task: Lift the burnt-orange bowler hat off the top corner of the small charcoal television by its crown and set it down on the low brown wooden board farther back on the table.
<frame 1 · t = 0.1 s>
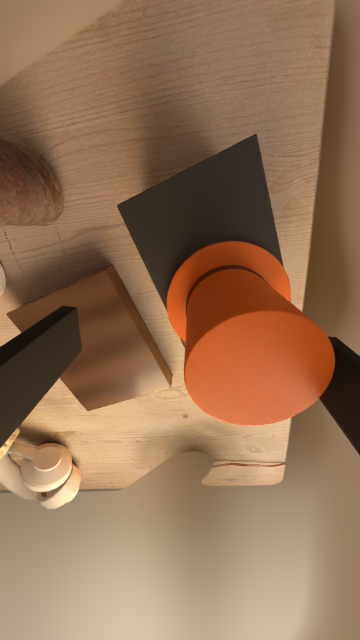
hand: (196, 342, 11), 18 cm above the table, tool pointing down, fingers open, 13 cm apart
headphones: (44, 456, 48), on the table
hat: (226, 303, 17), point 11 cm above the table, touching television
television: (205, 251, 26), on the table
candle: (37, 189, 24), on the table
brown wooden board: (102, 342, 33), on the table
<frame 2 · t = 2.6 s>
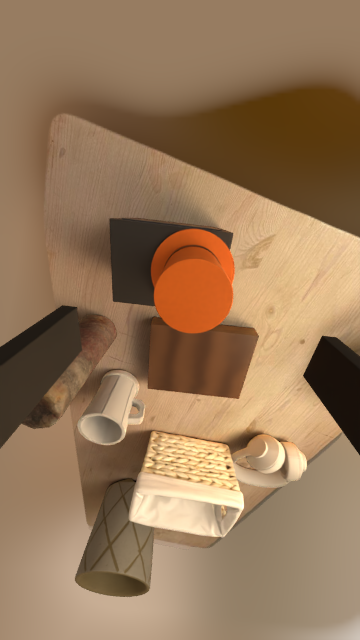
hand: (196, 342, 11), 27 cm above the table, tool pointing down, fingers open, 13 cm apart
headphones: (260, 451, 58), on the table
basket: (184, 449, 59), on the table
hat: (192, 273, 25), point 11 cm above the table, touching television
television: (174, 255, 35), on the table
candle: (99, 327, 42), on the table
brown wooden board: (198, 355, 44), on the table
cup: (124, 382, 49), on the table
planter: (132, 491, 70), on the table
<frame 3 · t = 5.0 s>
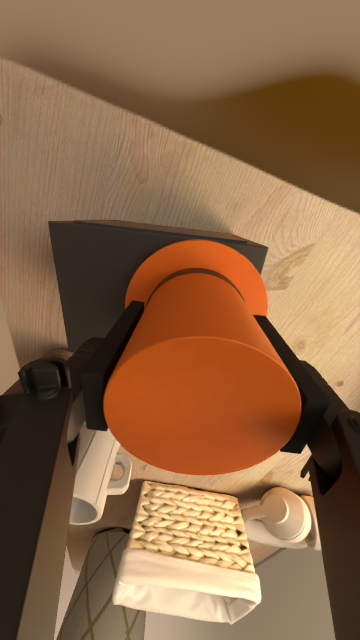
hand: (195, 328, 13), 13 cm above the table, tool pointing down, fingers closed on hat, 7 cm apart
headphones: (276, 503, 47), on the table
basket: (184, 499, 49), on the table
hat: (194, 312, 15), point 11 cm above the table, touching gripper, television
television: (168, 272, 25), on the table
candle: (71, 363, 32), on the table
cup: (107, 426, 38), on the table
planter: (122, 539, 60), on the table
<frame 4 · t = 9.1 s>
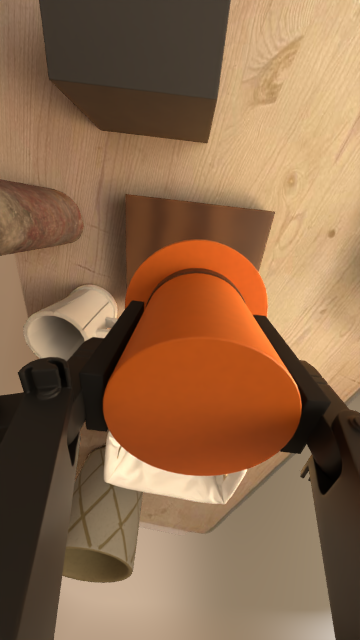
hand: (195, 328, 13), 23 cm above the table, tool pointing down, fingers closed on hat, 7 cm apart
basket: (178, 403, 48), on the table
hat: (194, 312, 15), point 21 cm above the table, touching gripper
television: (156, 83, 25), on the table
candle: (60, 217, 32), on the table
brown wooden board: (192, 260, 34), on the table
cup: (99, 305, 38), on the table
planter: (117, 461, 60), on the table
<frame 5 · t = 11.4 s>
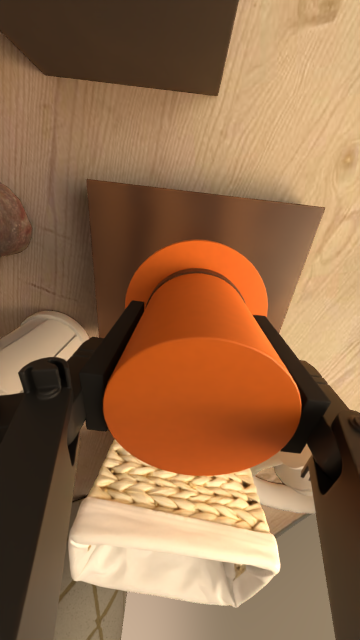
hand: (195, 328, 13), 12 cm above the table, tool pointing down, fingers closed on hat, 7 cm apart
headphones: (292, 456, 37), on the table
basket: (174, 453, 38), on the table
hat: (194, 312, 15), point 9 cm above the table, touching gripper
brown wooden board: (193, 278, 23), on the table
cup: (65, 336, 28), on the table
planter: (102, 511, 50), on the table
when the fingers open (5 cm above the table, at t = 13.3 s): hat stays where it is, resting on brown wooden board.
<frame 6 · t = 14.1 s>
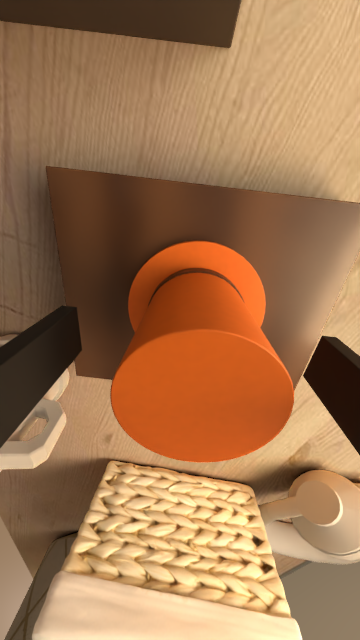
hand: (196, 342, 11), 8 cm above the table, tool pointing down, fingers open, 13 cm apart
headphones: (309, 496, 32), on the table
basket: (172, 490, 33), on the table
hat: (195, 310, 16), point 3 cm above the table, touching brown wooden board
brown wooden board: (194, 296, 18), on the table
cup: (39, 363, 23), on the table
planter: (92, 546, 44), on the table
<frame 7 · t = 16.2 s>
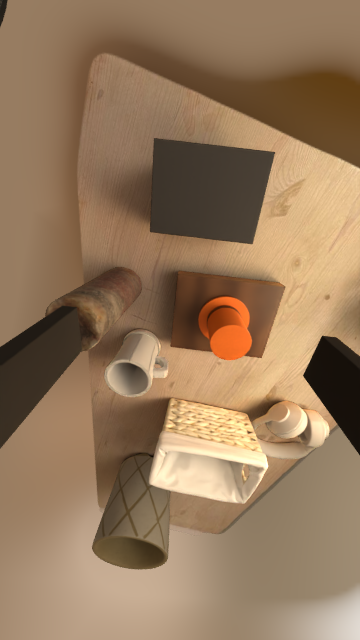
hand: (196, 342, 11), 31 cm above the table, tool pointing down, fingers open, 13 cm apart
headphones: (279, 421, 57), on the table
basket: (202, 419, 58), on the table
hat: (223, 319, 41), point 3 cm above the table, touching brown wooden board
television: (203, 203, 36), on the table
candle: (124, 283, 43), on the table
brown wooden board: (221, 313, 44), on the table
cup: (145, 343, 49), on the table
planter: (146, 467, 70), on the table
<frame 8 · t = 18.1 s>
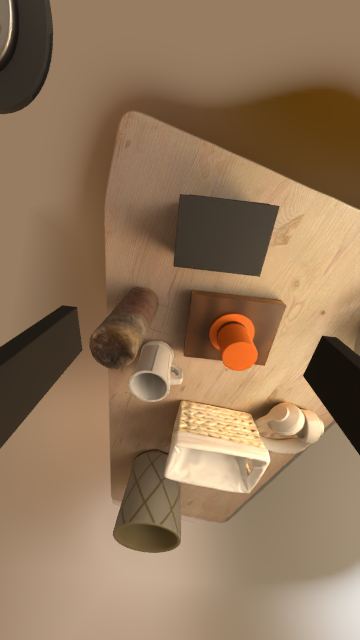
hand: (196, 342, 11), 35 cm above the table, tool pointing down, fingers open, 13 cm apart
headphones: (279, 420, 63), on the table
basket: (209, 419, 64), on the table
hat: (231, 332, 47), point 3 cm above the table, touching brown wooden board
television: (215, 233, 41), on the table
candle: (142, 300, 48), on the table
brown wooden board: (229, 326, 50), on the table
cup: (160, 352, 54), on the table
planter: (157, 462, 76), on the table
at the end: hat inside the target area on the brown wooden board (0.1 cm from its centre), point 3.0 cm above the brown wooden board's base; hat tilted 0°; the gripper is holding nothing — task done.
